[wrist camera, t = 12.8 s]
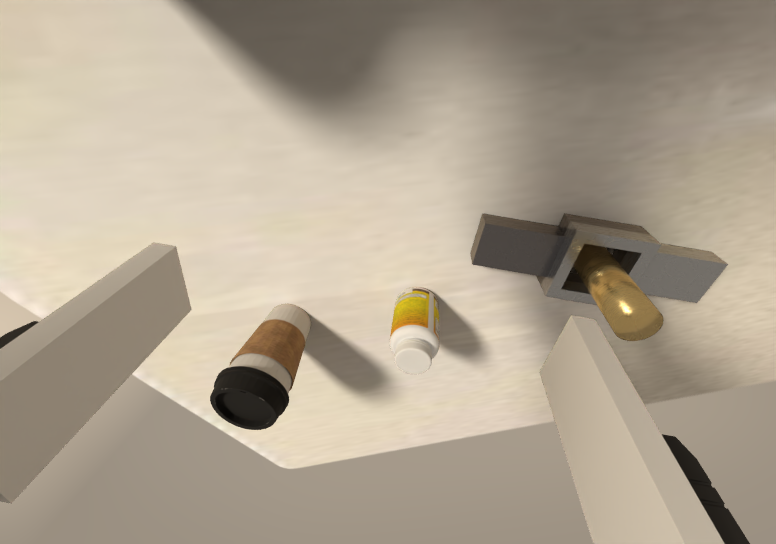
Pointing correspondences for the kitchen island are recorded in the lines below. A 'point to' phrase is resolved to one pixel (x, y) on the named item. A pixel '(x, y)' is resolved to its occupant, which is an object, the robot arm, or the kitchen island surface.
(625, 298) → the pin
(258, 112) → the kitchen island surface
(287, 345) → the coffee cup
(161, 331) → the robot arm
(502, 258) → the grey plate with loop
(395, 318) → the supplement bottle
